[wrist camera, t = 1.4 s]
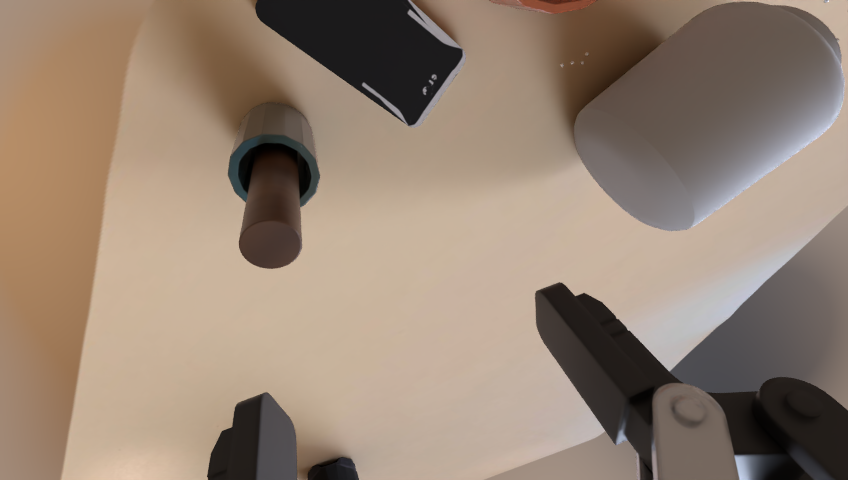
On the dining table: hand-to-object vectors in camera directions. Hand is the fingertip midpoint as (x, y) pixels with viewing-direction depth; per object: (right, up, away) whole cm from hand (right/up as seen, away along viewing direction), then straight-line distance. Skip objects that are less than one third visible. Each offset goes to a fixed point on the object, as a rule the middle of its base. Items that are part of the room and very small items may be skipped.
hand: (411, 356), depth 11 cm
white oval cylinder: (+25, +22, +28) cm, 43 cm away
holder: (-12, +12, +21) cm, 28 cm away
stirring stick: (-12, +12, +21) cm, 27 cm away
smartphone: (-4, +20, +19) cm, 28 cm away
